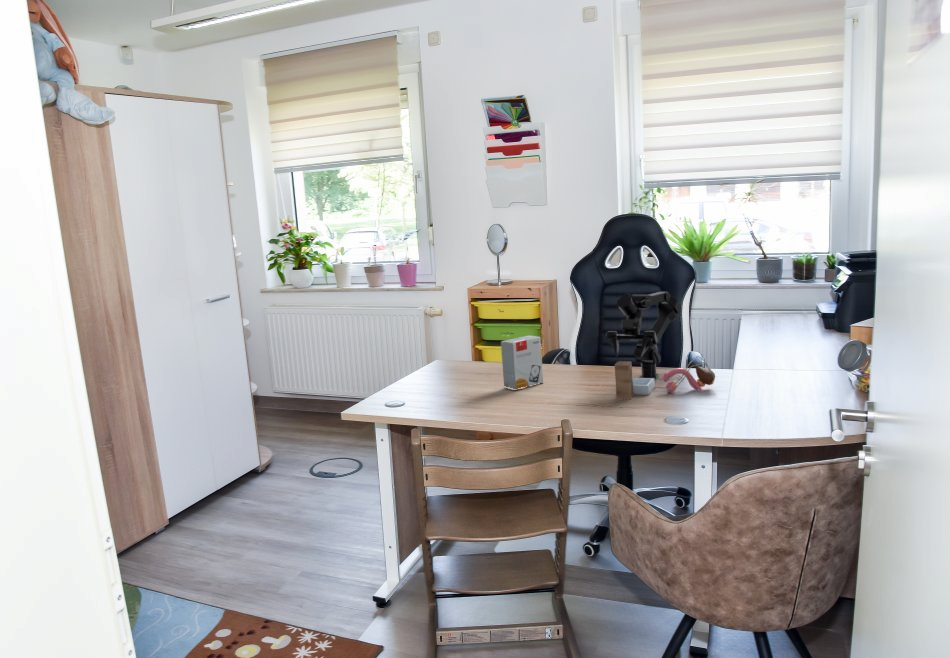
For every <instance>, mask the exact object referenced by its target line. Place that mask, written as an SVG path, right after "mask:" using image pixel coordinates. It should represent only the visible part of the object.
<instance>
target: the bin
mask: <svg viewBox="0 0 950 658" xmlns="http://www.w3.org/2000/svg"><path fill="white" fill-rule="evenodd" d="M632 379H633V395H638V396H639V395H641V396H642V395H643V396H645V395H646V396H649V395H650V394H651V393H652V391H653V390H654V389H655V386H656V385H655V384H656V383H655V379H654V378H639V377H632Z"/></svg>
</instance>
